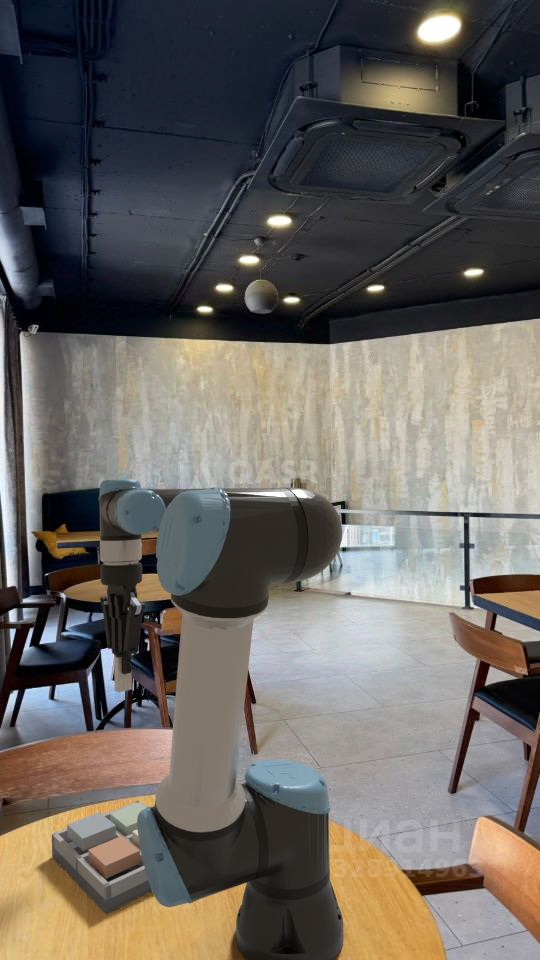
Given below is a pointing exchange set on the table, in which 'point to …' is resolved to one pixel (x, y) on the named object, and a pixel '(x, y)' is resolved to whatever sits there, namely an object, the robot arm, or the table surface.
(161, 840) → the robot arm
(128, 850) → the key terracotta
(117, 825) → the key sage
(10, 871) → the table surface
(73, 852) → the keypad base
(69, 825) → the key slate
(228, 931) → the table surface
